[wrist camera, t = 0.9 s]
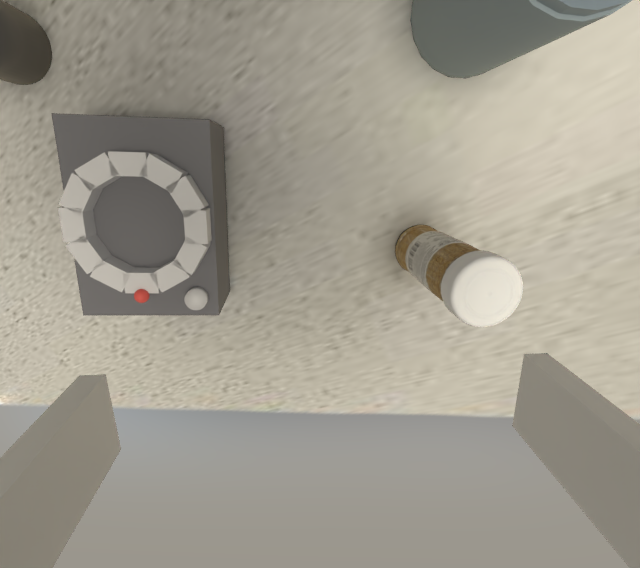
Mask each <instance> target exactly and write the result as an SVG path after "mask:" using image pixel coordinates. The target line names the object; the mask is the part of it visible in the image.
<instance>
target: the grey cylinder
mask: <svg viewBox="0 0 640 568" xmlns="http://www.w3.org/2000/svg"><path fill="white" fill-rule="evenodd" d="M51 60H52V52H51V46H50V42H49V39H48V37H47V35H46V33H45V32H44V30H43V29H42V27H41V26H40V25H39V24H38V23H37V22H36V21H35V20H34V19H33V18H32V17H30V16H29V15H27V14H25V13H23V12H22V11H20V10H18V9H16V8H15V7H13V6H11V5H9V4H8V3H6V2H4V1H2V0H0V79H1V80H4V81H7V82H11V83H15V84H20V85H28V84H33V83H35V82H37V81H39V80H41V79H42V78H43V77H44V76H45V75H46V73H47V72H48V70H49V68H50V65H51Z"/></svg>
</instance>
